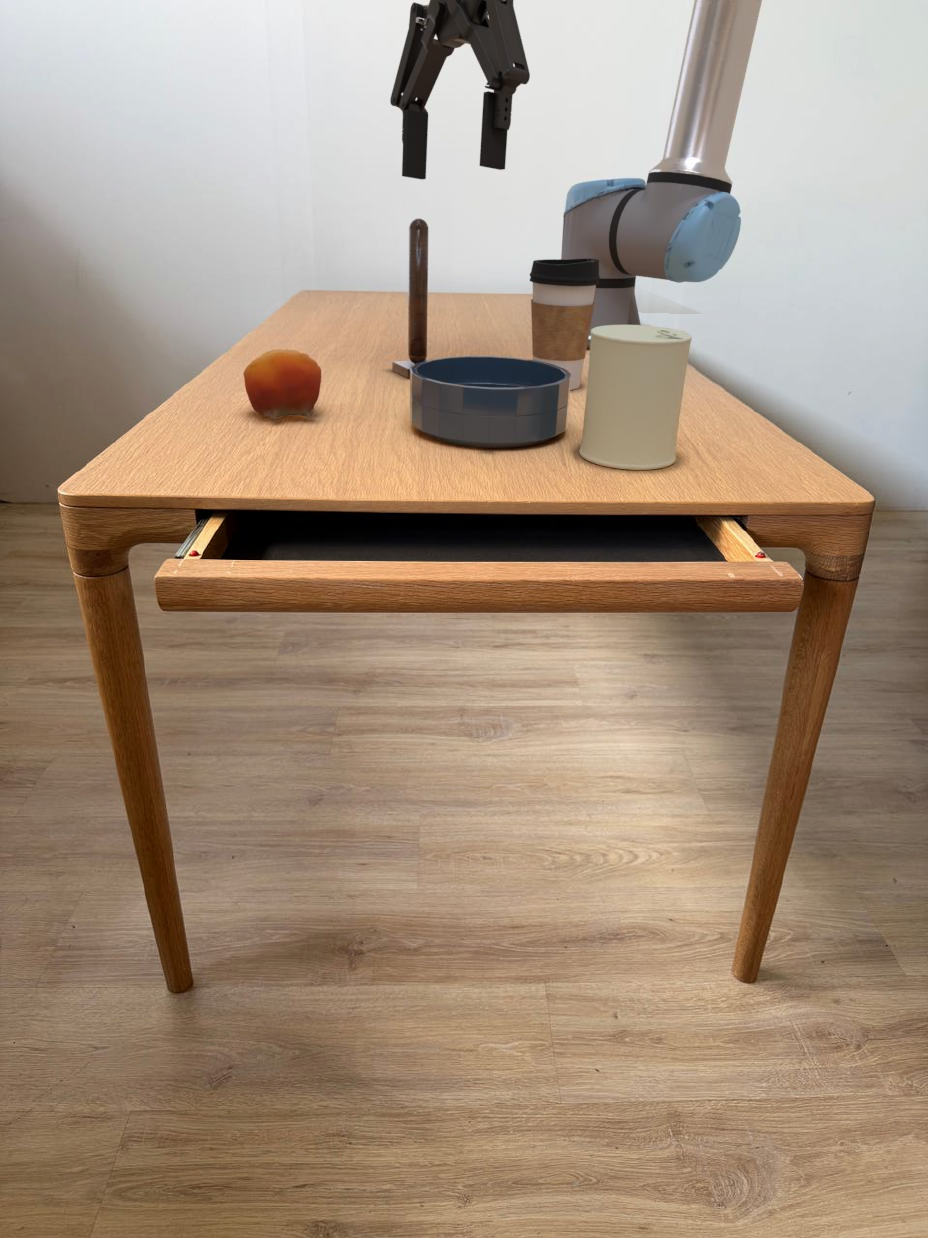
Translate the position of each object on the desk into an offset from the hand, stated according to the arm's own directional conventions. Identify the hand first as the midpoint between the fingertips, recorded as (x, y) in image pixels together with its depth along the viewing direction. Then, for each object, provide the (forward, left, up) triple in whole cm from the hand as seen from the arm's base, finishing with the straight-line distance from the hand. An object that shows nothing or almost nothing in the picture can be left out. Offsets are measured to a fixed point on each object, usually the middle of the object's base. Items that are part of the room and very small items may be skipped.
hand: (451, 173), depth 97 cm
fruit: (+18, +8, -24) cm, 31 cm away
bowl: (-3, +14, -24) cm, 28 cm away
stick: (+2, -14, -24) cm, 28 cm away
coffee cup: (-15, -7, -24) cm, 29 cm away
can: (-15, +24, -24) cm, 37 cm away
